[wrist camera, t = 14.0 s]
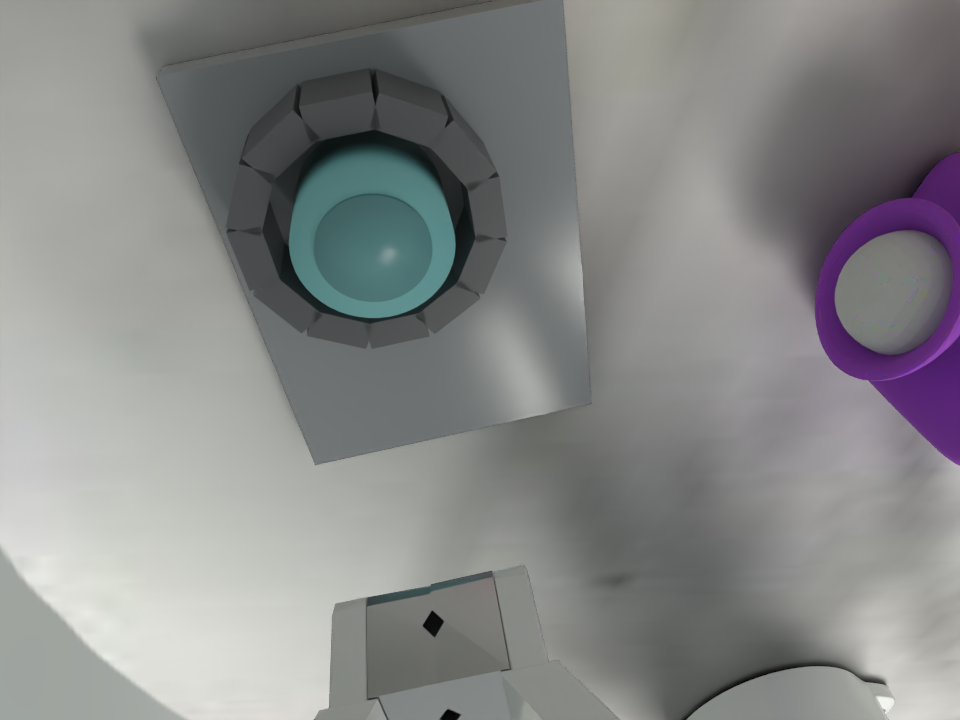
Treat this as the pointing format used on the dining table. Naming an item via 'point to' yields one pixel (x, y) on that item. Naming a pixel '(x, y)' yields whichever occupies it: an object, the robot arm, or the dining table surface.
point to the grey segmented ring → (347, 111)
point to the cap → (371, 225)
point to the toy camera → (902, 304)
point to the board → (527, 207)
